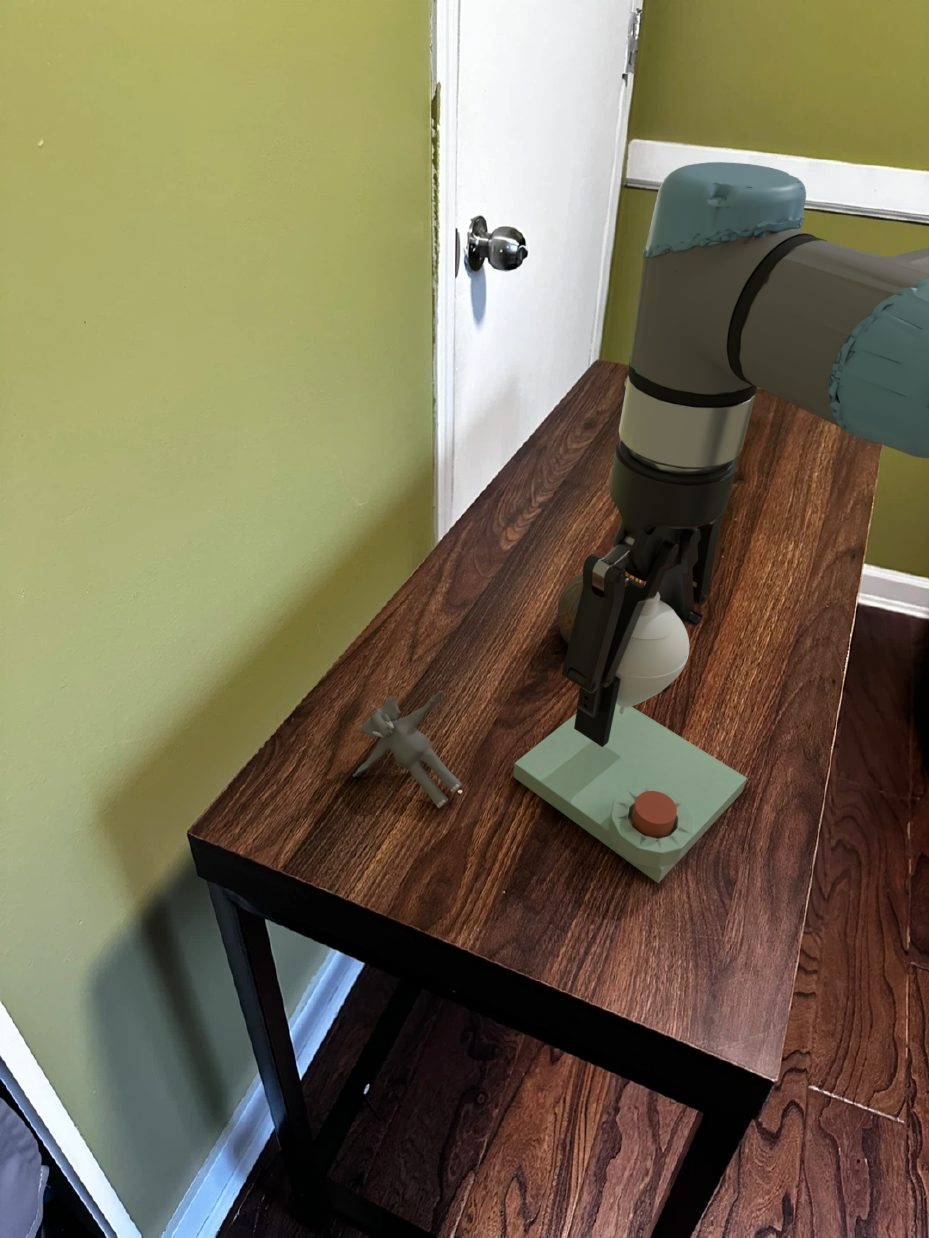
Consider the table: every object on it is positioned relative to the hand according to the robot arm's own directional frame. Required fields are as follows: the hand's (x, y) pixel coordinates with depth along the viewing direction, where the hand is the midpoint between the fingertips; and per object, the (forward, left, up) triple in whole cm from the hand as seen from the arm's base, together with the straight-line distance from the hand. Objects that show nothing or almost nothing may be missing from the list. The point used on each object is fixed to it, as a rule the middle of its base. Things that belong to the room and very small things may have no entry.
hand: (623, 707), depth 67 cm
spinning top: (0, 0, -1) cm, 1 cm away
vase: (+10, -10, -6) cm, 16 cm away
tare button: (-7, +6, -3) cm, 9 cm away
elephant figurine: (+10, +13, -6) cm, 17 cm away
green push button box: (-3, +2, -6) cm, 7 cm away
